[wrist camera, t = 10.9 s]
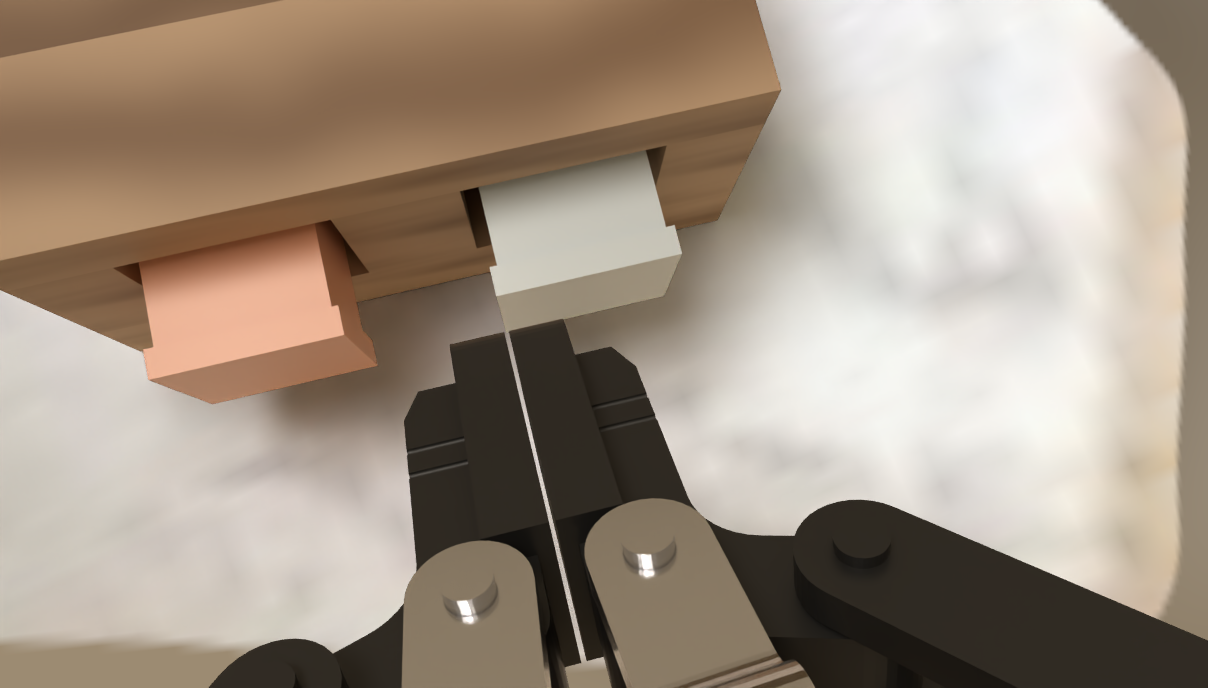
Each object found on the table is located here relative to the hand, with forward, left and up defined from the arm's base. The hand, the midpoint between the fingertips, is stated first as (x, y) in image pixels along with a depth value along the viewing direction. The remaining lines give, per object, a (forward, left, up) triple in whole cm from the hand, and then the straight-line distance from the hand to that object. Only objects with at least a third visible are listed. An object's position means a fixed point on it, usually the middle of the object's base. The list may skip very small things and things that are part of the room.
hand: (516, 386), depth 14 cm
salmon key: (-4, +9, -18) cm, 21 cm away
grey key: (+5, +6, -18) cm, 20 cm away
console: (+2, +12, -22) cm, 25 cm away
